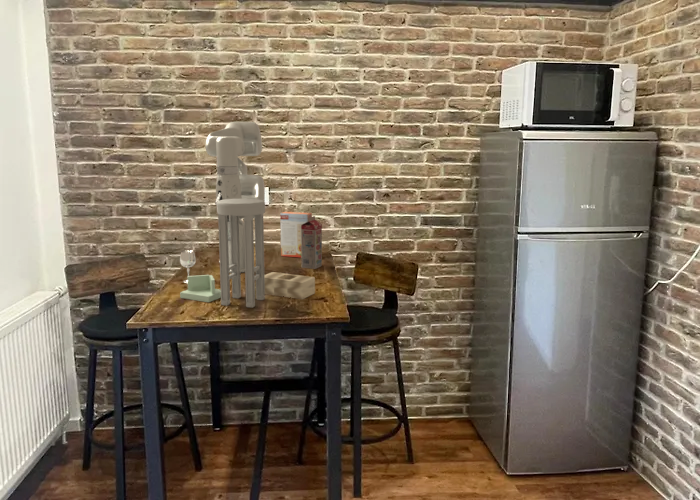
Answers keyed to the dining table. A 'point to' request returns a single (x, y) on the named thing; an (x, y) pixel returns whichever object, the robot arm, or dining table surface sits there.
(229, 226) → the steel axle
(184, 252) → the wineglass
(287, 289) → the beige block with hole
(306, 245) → the juice carton
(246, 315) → the dining table surface
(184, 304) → the dining table surface
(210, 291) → the v-block
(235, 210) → the stool
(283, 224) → the cracker box
